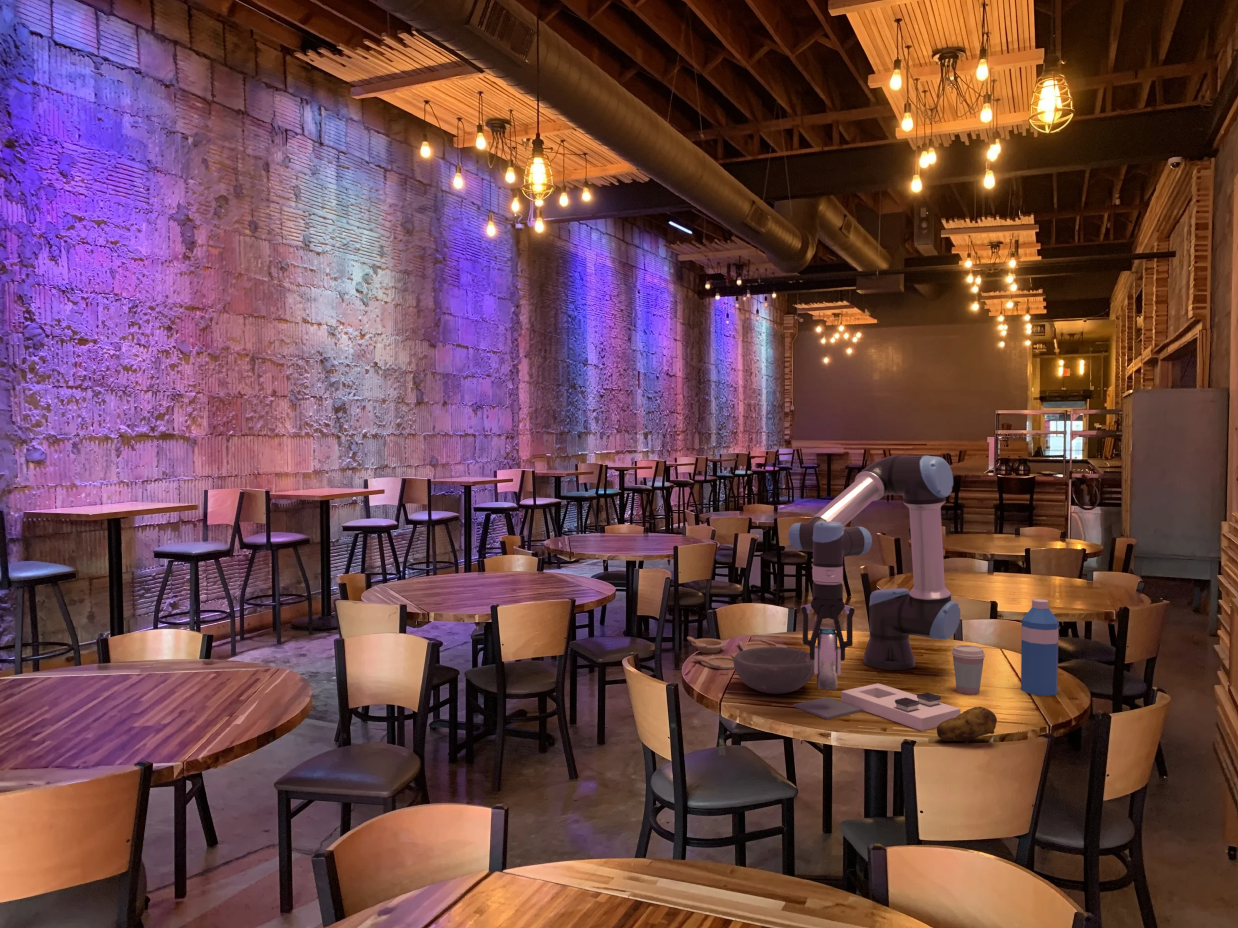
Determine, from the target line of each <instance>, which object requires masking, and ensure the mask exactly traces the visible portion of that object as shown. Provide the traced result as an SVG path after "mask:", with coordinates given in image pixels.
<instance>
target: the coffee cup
mask: <svg viewBox="0 0 1238 928" xmlns="http://www.w3.org/2000/svg"><path fill="white" fill-rule="evenodd" d="M951 655H952V660H953V671H954V677H955V678H954V679H955V688H956V691H957V692H958V693H960V694H965V695H978V694H980V690H981V683H982V674H983V667H984V660H985V659H984V658H985V657H986V653H985V652H984V649H983V648H982V647H980V646H976V645H971V644H957V645H954V646H953V649H952V650H951Z"/></svg>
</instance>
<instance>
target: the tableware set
mask: <svg viewBox="0 0 1238 928" xmlns="http://www.w3.org/2000/svg"><path fill="white" fill-rule="evenodd" d="M686 640H688V641H690V642H691V645H692V646H694V647H696V648H697V650H698V652H700V653H702V654H717V653H720V651H721V649H722V648H725V647H726V646H727V645H728V644H727V642H726V641H725V640H722V639H717V638H709V637H708V638H706V637H705V638H697V639H695V638H694V637H692V636H686ZM737 644H738V645H739V648H740V649H741V651H743V650H747V649H753V648H761V647H785V648H789V646H787V645H784V644H781V643H780V644H778V643H776V642H773V641H770V640H768V639H764V638H761V639H760V641H748V642H743V641H742V640H739V641H737ZM737 653H738V652H734V653H733V652H732V653H731V654H730V656H728V655H713V656H712V655H711V656H706V657H704V656H702V655H696V656H692V658H693V659H694V660H696V661H698V662H700V663H701V665H702V666H705V667H707V668H711V669H716V670H735V667H734V657H735V655H736V654H737Z"/></svg>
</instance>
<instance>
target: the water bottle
mask: <svg viewBox="0 0 1238 928" xmlns="http://www.w3.org/2000/svg"><path fill="white" fill-rule="evenodd" d="M1020 645H1021V648H1020V650H1021V653H1020V655H1021V656H1020V659H1021V660H1020V667H1021V668H1020V669H1021V670H1020V691H1023V692H1024V693H1027V694H1029V695H1036V696H1040V697H1041V696H1042V697H1046V696H1047V697H1050V696H1056V695H1057V694H1058V689H1059V688H1058V687H1059V685H1058V683H1059V682H1058V680H1059V679H1058V678H1059V677H1058V676H1059V620H1058V619H1057V617H1056V616H1055V615H1054V613H1053V612H1052V610H1051V609H1050V608H1049V600H1047V599H1043V598H1042V599H1039V598H1036V599H1035V598H1033V599H1032V600H1031V608H1030V609H1029V610H1028V612H1027V613H1025V615H1024V616H1023V617H1022V619H1021V644H1020Z"/></svg>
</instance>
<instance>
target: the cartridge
mask: <svg viewBox="0 0 1238 928" xmlns="http://www.w3.org/2000/svg"><path fill="white" fill-rule="evenodd" d="M816 646H817V647H818V674H816V687H817V689H820V690H824V691H825V690H826V691H834V690H837V689H838V674H837V647H838V637H837V633H836V629H835V627H826V626H823V627H820V629H819V633H818V637H817V640H816Z"/></svg>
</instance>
